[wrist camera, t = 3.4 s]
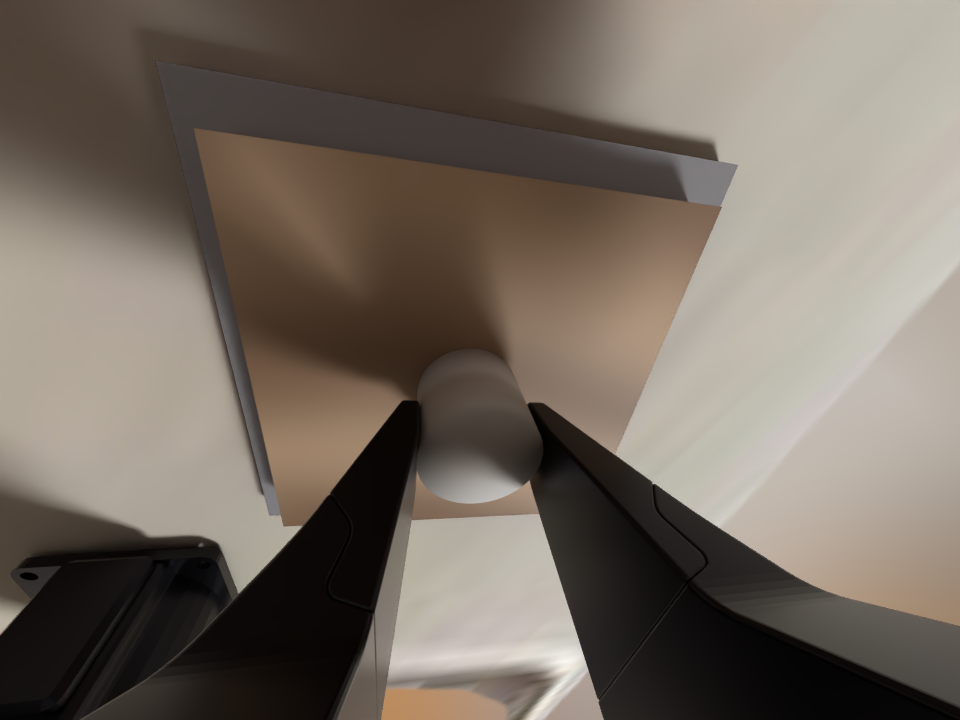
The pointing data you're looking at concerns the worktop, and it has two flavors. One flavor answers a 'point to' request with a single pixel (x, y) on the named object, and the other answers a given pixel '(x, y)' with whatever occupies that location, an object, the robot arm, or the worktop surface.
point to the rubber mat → (395, 135)
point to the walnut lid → (438, 311)
